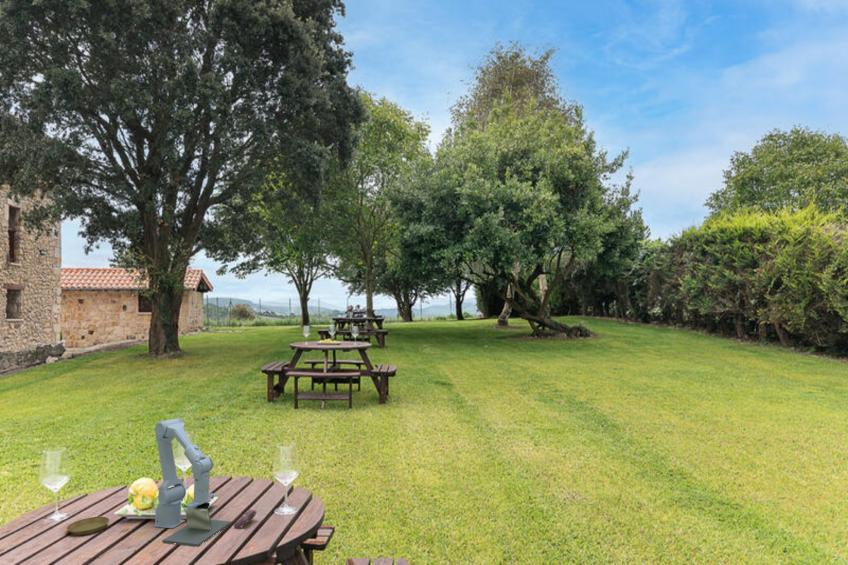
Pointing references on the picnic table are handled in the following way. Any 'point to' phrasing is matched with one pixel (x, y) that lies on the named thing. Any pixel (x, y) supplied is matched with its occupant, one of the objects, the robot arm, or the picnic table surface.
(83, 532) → the plant saucer
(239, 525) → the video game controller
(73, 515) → the picnic table surface
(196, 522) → the tile
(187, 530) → the board
